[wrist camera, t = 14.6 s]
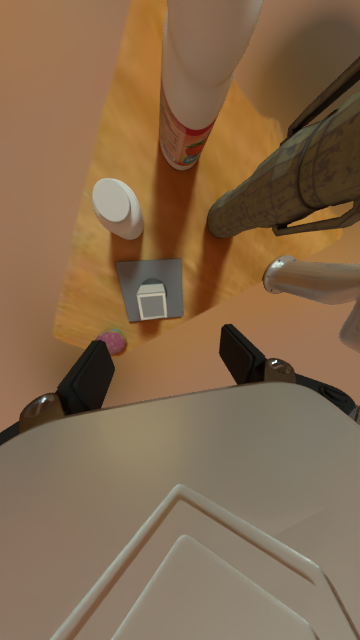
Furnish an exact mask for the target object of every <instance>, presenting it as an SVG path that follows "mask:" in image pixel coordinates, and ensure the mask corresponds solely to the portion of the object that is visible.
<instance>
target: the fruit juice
mask: <svg viewBox="0 0 360 640" xmlns="http://www.w3.org/2000/svg"><path fill="white" fill-rule="evenodd" d="M263 1H264V0H167V13H166V17H165V23H164V31H163V40H162V54H161V88H160V118H159V139H160V146H161V149H162V152H163V155H164V157H165V159H166V160H167V162H168V163H169V164H170V165H171V166H172V167H173V168H175V169H177V170H187V169H189V168H191V167H192V166H193V165H194V164H195V163H196V161H197V160H198V158H199V156H200V154H201V152H202V150H203V148H204V145H205V143H206V141H207V139H208V136H209V134H210V132H211V130H212V128H213V125H214V123H215V121H216V119H217V117H218V114H219V112H220V110H221V108H222V106H223V104H224V101H225V99H226V96H227V94H228V91H229V88H230V85H231V82H232V79H233V74H234V70H235V68H236V67H237V65H238V64H239V62H240V61H241V59H242V57H243V55H244V53H245V52H246V50H247V47H248V45H249V43H250V40H251V38H252V35H253V33H254V30H255V27H256V24H257V22H258V18H259V15H260V12H261V8H262V4H263Z"/></svg>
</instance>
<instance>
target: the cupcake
mask: <svg viewBox="0 0 360 640" xmlns="http://www.w3.org/2000/svg"><path fill="white" fill-rule="evenodd" d="M96 340H102V341H105V343H106V345H107V348H108V351H109V353H110V354H115V353H119V352H121V351H122V350H123V349H124V347H125V343H126V339H125V337H124V336H123V335H122V333H121V332H120V331H119V330H117V329H111V330H105V331H103V332H101V333H100V334H99V335H98V337H97V338H96Z"/></svg>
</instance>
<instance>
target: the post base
mask: <svg viewBox="0 0 360 640" xmlns="http://www.w3.org/2000/svg"><path fill="white" fill-rule="evenodd" d="M115 265H116V269H117V273H118V277H119V281H120V286H121V290H122V294H123V298H124V302H125V306H126V311H127V315H128V319H129V322H134V321H143V320H141V316H140V310H139V305H138V300H137V293H138V290H139V288H140V285H148V284H161V283H163V287H164V290H165V298H166V308H167V318H170V317H179V316H183V294H182V264H181V259H162V260H143V261H124V262H115ZM157 319H161V318H157ZM148 320H152V319H148Z"/></svg>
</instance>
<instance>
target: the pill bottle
mask: <svg viewBox="0 0 360 640" xmlns="http://www.w3.org/2000/svg"><path fill="white" fill-rule="evenodd" d="M93 207H94V211H95V214H96V216H97V218H98V219H99V221H100V222H101V224H102V225H103V226H104V227H105V228H106V229H108V230H109V231H111V232H112V233H114V234H116V235H118V236H120V237H122V238H124V239H127V240H133V239H136V238H138V237H139V236H140V235H141V233H142V231H143V227H144V220H143V216H142V213H141V209H140V205H139V202H138V200H137V198H136V196H135V194H134V192H133V191H132V190H131V189H130V188H129V187H128V186H127V185H126V184H125V183H123V182H121V181H119V180H117V179H108V178H107V179H106V178H105V179H101V180H100V181H98V182H97V183H96V185H95V186H94V188H93Z"/></svg>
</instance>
